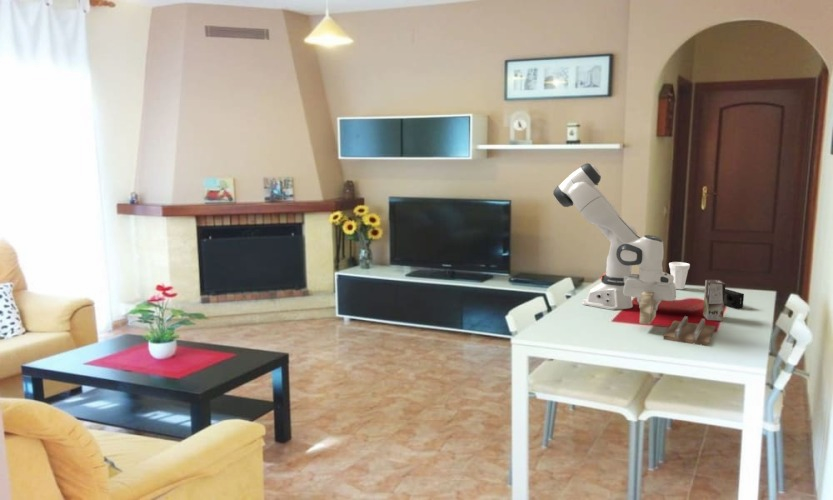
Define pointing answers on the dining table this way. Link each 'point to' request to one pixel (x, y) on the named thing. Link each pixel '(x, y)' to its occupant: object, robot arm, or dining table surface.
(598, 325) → the dining table surface
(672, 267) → the cup
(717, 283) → the coffee box
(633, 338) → the dining table surface
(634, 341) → the dining table surface
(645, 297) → the door panel
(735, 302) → the digital camera
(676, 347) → the dining table surface
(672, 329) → the track base
